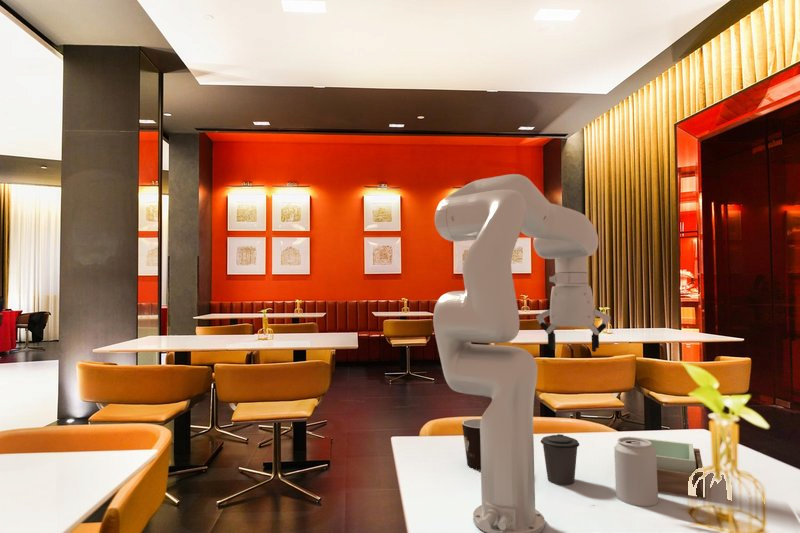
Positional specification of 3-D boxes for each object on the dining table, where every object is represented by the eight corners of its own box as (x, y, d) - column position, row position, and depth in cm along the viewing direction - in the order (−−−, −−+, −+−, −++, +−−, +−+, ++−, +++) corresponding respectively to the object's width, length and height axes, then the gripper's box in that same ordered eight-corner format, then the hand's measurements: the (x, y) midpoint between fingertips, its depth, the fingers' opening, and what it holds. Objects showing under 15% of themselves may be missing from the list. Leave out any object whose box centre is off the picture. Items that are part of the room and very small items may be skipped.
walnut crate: (706, 502, 96) (704, 474, 97) (617, 488, 104) (616, 462, 104) (700, 473, 112) (699, 449, 112) (623, 462, 120) (623, 439, 120)
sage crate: (697, 492, 99) (695, 461, 99) (625, 481, 105) (624, 452, 106) (693, 471, 111) (692, 443, 111) (629, 462, 117) (628, 436, 117)
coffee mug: (464, 458, 124) (463, 418, 124) (498, 460, 122) (497, 419, 123) (460, 474, 112) (459, 430, 113) (498, 477, 111) (497, 432, 111)
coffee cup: (568, 476, 111) (567, 431, 112) (588, 489, 103) (586, 441, 104) (535, 478, 110) (534, 433, 110) (552, 492, 102) (551, 443, 102)
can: (649, 495, 100) (646, 435, 101) (665, 511, 93) (662, 446, 93) (610, 494, 101) (608, 434, 101) (623, 510, 93) (621, 445, 94)
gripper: (532, 280, 122) (534, 350, 121) (608, 279, 114) (610, 353, 113) (538, 281, 129) (540, 347, 128) (610, 280, 121) (612, 350, 120)
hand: (573, 350), depth 120 cm, fingers open, 9 cm apart
